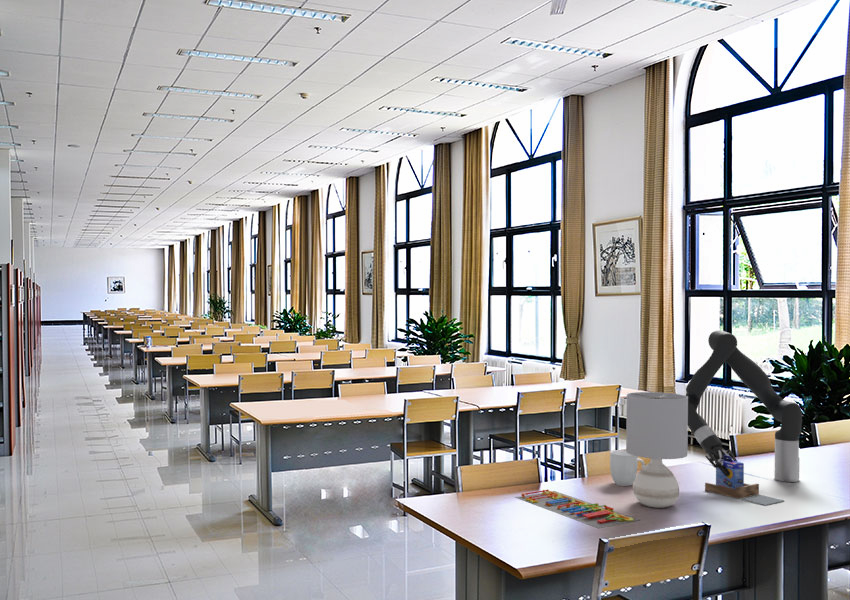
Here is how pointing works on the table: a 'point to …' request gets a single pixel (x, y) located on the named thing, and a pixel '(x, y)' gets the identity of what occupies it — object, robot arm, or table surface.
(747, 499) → the pad
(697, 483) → the table surface
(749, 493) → the frame
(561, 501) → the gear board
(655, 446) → the lamp
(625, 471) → the mug
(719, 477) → the ink cartridge box
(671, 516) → the table surface
